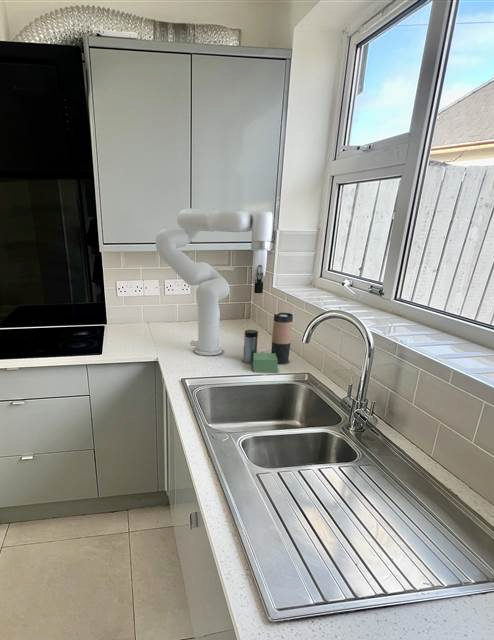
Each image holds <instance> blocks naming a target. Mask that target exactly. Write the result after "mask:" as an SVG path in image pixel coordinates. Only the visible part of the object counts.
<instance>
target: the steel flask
mask: <svg viewBox="0 0 494 640" xmlns="http://www.w3.org/2000/svg"><path fill="white" fill-rule="evenodd" d="M258 338H259V331H258V330H256V329H245V330H244V339H243V358H242V359H243V363H245V364H253V353H258V341H259V340H258Z"/></svg>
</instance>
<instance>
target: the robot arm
mask: <svg viewBox="0 0 494 640" xmlns="http://www.w3.org/2000/svg"><path fill="white" fill-rule="evenodd" d="M273 221H274V214H273V212H272V211H269V210H258V211H250V210H222V209H221V210H220V209H216V208H198V207H197V208H194V207H191V208H190V207H189V208H183V209H181V210H180V211H179V212H178V214H177V216H176V222H177V225H178V226H179V227H178V226H177V227H166V228H162V229H161V230H159V231H158V232H157V234H156V236H155V248H156V252H157V254H158V255H159V257H160V258H161V259H162V260H163V261H164V262H165V263H166V264H167V265H168V266H169V267H170V268H171V269H172V270H173V271H174V272H175V274H177V276H179V277H180V278H181V280H182V281H184V282H185V284H187V285H188V286H191V287H195V286H197V288H196V290H195V291H196V292H195V296H196V303H197V315H198V316H197V340H190V342H189V343H190V346H192V347H195V348H194V353H195V354H197V355H201V356H217V355H220V354H222V353H223V347H221V346H220V327H221V326H220V320H221V319H220V318H221V311H220V306H219V301H221V300H224V299H225V298H227V297H228V296H229V294H230V285H229V282H228V281H227V280H226V279H225V277H223V276H222V275H221V274H220V273H219V272H218V271H217V270H216V269H215V268H214V267H213V266H212V265H211V264H209V263H207V262H204V261H198V262H195V261H194V260H192V259H191V258H190V257H189V256H188V255H187V254H186V253H184V252H183V251H182V250H180V249H179V248H184V247H186V246H188V245H189V244H190V243H191V242H192V241H193V240H194V239H195V238H196V237H197V236H198V235H199V233H200V232H212V233H213V232H221V233H222V232H223V233H224V232H225V233H247V232H251V241H250V242H251V243H250V250H251V251H253V253H252V268H251V269H252V270H251V277H253V278H255V279H254V289H253V292H254V293H253V294H263V293H264V278H265V276H266V271H267V263H268V262H267V261H268V251H271V250H272V237H273Z"/></svg>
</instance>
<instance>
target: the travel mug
mask: <svg viewBox="0 0 494 640" xmlns="http://www.w3.org/2000/svg"><path fill="white" fill-rule="evenodd" d="M293 320H294V315H293V314H292V313H290V312H278V313H274V314H273V324H272V335H271V349H270V350H271V352H270V353H275V354H276V357H277V359H278V365H284V364H288V363H289V357H290V351H291V344H292V343H291V342H292V332H293V331H292V330H293Z"/></svg>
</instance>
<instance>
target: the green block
mask: <svg viewBox="0 0 494 640" xmlns="http://www.w3.org/2000/svg"><path fill="white" fill-rule="evenodd" d="M278 365H279V364H278V359H277V357H276V354H275V353H271V352H257V353H253V363H252V369H253V372H254V373H278Z"/></svg>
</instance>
